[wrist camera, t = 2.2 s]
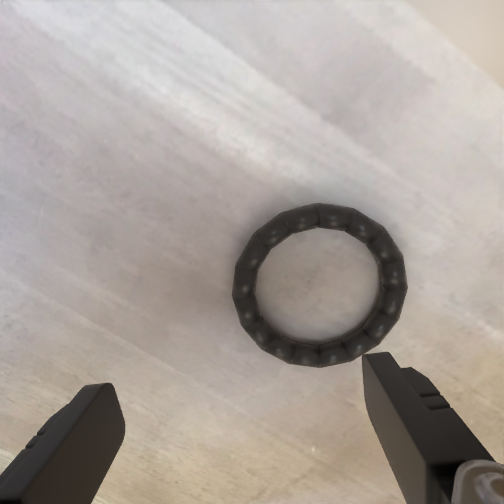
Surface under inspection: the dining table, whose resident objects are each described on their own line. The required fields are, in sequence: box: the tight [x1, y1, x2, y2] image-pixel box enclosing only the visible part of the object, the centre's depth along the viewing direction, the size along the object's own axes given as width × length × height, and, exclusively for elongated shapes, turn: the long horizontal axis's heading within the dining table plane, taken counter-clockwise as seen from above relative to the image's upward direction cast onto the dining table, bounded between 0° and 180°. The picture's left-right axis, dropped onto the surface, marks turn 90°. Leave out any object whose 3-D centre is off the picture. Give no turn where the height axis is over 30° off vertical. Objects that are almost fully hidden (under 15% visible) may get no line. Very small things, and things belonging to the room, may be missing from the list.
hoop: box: [232, 203, 408, 368], centre depth 16 cm, size 9×9×1 cm
